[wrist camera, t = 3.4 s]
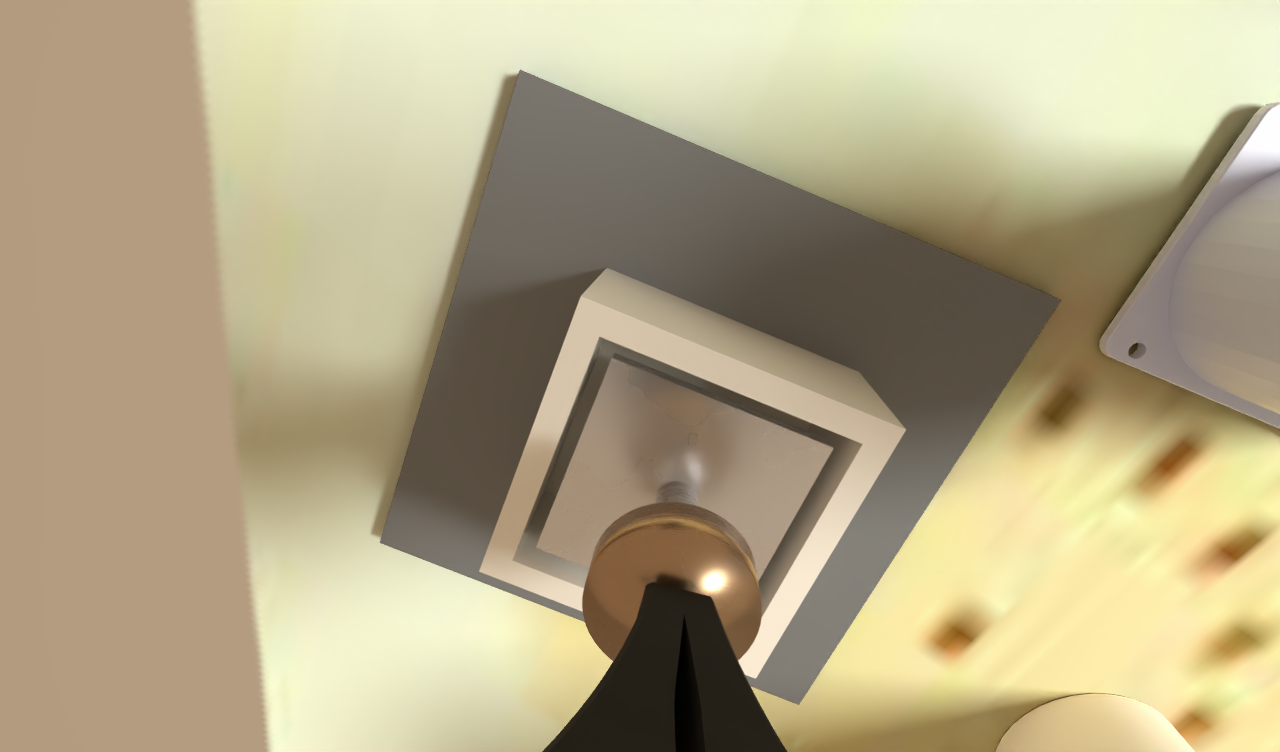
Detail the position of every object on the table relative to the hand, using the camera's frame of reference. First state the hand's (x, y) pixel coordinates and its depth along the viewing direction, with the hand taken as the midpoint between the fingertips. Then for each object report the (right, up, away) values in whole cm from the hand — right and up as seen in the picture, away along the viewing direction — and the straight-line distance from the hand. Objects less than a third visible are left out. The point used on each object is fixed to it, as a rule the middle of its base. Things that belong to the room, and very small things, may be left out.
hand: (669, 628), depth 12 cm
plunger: (+1, +2, +5) cm, 6 cm away
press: (+1, +3, +9) cm, 10 cm away
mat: (+1, +3, +10) cm, 10 cm away
